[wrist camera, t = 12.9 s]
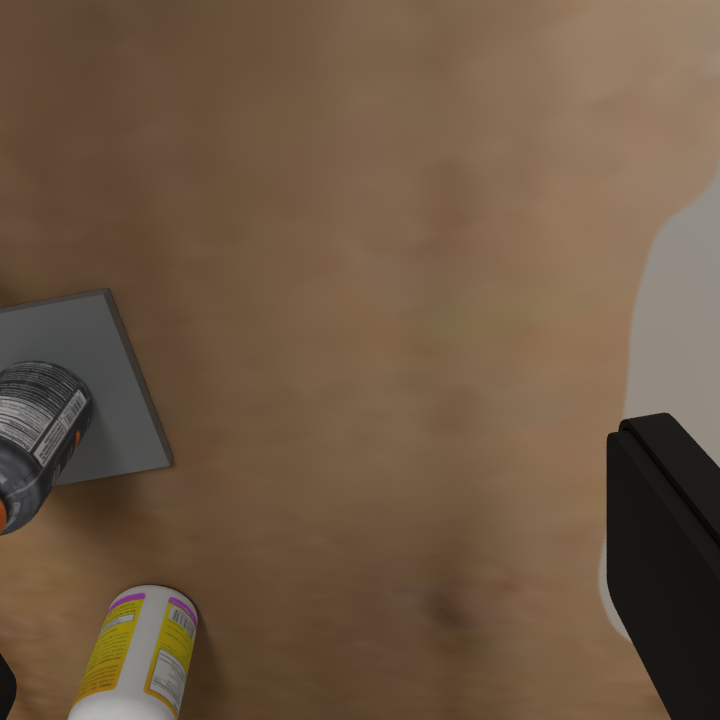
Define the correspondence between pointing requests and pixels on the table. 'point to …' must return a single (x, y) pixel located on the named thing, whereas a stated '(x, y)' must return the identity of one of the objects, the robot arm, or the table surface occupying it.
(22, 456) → the pill bottle
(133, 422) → the plate
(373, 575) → the table surface
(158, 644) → the supplement bottle
